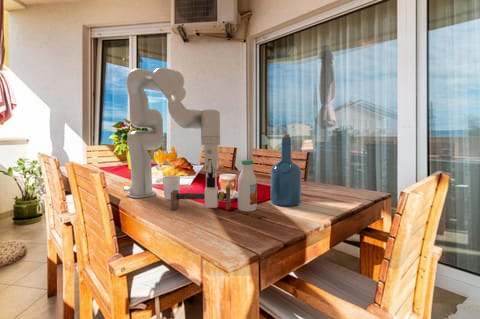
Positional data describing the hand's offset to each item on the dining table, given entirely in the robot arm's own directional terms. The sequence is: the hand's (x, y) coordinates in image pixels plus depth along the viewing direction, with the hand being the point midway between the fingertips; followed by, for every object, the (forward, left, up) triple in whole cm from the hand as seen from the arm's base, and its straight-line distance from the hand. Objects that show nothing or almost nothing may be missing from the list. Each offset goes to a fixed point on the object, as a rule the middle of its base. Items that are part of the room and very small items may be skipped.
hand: (211, 186), depth 109 cm
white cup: (-20, +17, -9) cm, 28 cm away
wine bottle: (+32, +7, -9) cm, 34 cm away
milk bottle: (+15, -2, -9) cm, 17 cm away
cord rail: (-4, 0, -9) cm, 10 cm away
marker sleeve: (0, 0, -9) cm, 9 cm away
